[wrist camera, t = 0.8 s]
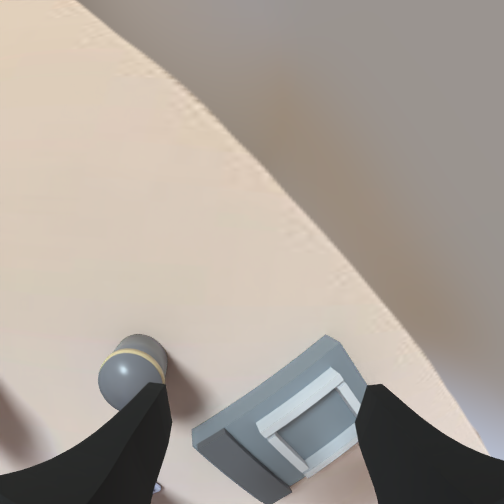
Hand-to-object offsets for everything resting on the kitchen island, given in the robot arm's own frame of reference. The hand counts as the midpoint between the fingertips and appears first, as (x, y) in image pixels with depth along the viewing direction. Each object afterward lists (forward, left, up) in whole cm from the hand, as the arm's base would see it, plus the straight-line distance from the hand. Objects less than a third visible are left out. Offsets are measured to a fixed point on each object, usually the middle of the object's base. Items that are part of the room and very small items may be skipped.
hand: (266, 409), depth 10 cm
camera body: (-1, -13, -17) cm, 21 cm away
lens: (-8, +1, -17) cm, 19 cm away
